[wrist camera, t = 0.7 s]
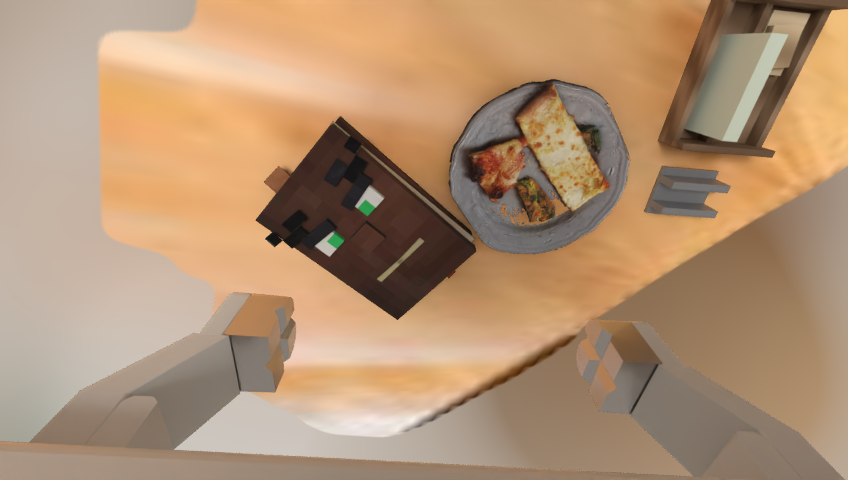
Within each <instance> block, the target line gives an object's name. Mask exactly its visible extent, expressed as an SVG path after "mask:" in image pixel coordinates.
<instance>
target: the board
mask: <svg viewBox="0 0 848 480" xmlns="http://www.w3.org/2000/svg"><path fill="white" fill-rule="evenodd" d="M787 37H788V34H779V33H751V34H722V37H721V39H720V42H719V44H718V47H717V49H716V51H715V54H714V56H713V59H712V61H711V64H710V66H709V69H708V71H707V74H706V76H705V78H704V81H703V83H702V86H701V88H700V91H699V93H698V96H697V98H696V101H695V103H694V105H693V108H692V110H691V113H690V115H689V118H688V120H687V123H686V125H685V128H684V129H687V130H690V131H693V132H696V133H699V134H703V135H706V136H709V137H712V138H715V139H718V140H721V141H731V142H737V141H738V139H739V137H740V134H741V132H742V130H743V128H744V126H745V124H746V122H747V120H748V118H749V116H750V114H751V112H752V110H753V107H754V105H755V103H756V101H757V99H758V97H759V95H760V93H761V91H762V89H763V87H764V85H765V82H766V80H767V78H768V76H769V74H770V72H771V70H772V68H773V66H774V64H775V62H776V60H777V58H778V55H779V53H780V51H781V49H782V47H783V45H784V43H785V41H786V39H787Z"/></svg>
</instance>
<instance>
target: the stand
mask: <svg viewBox="0 0 848 480" xmlns="http://www.w3.org/2000/svg"><path fill="white" fill-rule="evenodd" d="M717 174H718V171H714V170H703V169H691V168H679V167H667V166H662V168H661V170H660V173H659V175H658V178H657V180H656V183H655V185H654V188H653V190H652V193H651V195H650V198H649V200H648V203H647V205H646V208H645V210H644V211H645V212H646V213H659V214H668V215H680V216H693V217H706V218H715V217H716V215H717V213H718V212H717V211H716V210H714V209H712V208H710V207H709V206H707V205H705V204H704V202H705V200H706V197H707V195H708V193H709V192H719V193H728V191H729V189H730V187H731V186H729V185H727V184H724V183H722V182H720V181H718V180H716V176H717Z"/></svg>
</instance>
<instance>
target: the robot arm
mask: <svg viewBox="0 0 848 480" xmlns="http://www.w3.org/2000/svg"><path fill="white" fill-rule="evenodd" d="M293 312H294V302H293V299H292V298H291V297H285V296H274V295H264V294H251V293H239V292H234V293H231V294H230V295H229V296H228V297H227V298H226V300H225V301H224V302H223V303H222V305H221V306H220V307H219V309H218V310H217V311H216V312H215V314H214V315H213V316H212V318H211V319H210V320H209V322H208V323H207V324H206V325H205V327H204V328H203V329H202V331H201V332H200V333H199V334H198V333H193V334H191V335H189V336H187V337H185V338H183V339H181V340H179V341H177V342H175V343H173V344H171V345H169V346H167V347H165V348H163V349H161V350H159V351H157V352H155V353H153V354H151V355H149V356H147V357H145V358H143V359H141V360H139V361H137V362H135V363H133V364H131V365H129V366H127V367H126V368H123V369H122V370H120V371H118V372H116V373H114V374H112V375H110V376H108V377H106V378H104V379H102V380H100V381H98V382H96V383H94V384H92V385H90V386H88V387H86V388H84V389H82V390H80V391H79V392H78V393H77V394H76V395H75V396H74V397H73V398H72V399H71V400H70V401H69V402H68V403H67V404H66V405H65V406H64V408H62V410H60V411H59V412H58V413H57V415H55V417H53V419H52V420H51V421H50V422H49V423H48V424H47V425H46V426H45V427H44V428H43V429H42V430H41V431H40V432H39V433H38V434H37V435H36V436H35V437H34V438H33V439H32V440H31V441H30V442H29V443H27V442H6V441H0V480H844V478H843V477H842V476H841V475H840V474H839V473H838V472H836V470H835V469H834V468H833V467H832V466H831V465H830V464H829V463H828V462H827V461H826V460H825V459H824V458H823V457H822V456H821V455H820V454H819V453H818V452H817V451H816V450H815V449H814V448H813V447H812V446H811V444H809V442H808V441H807V440H806V439H805V438H804V437H803V436H802V435H801V434H800V433H799V432H797V431H795V430H794V429H792V428H790V427H788V426H787V425H785V424H784V423H782V422H780V421H779V420H777V419H775V418H774V417H772V416H771V415H769V414H767V413H766V412H764V411H762V410H761V409H759V408H757V407H756V406H754V405H752V404H751V403H749V402H748V401H746V400H744V399H742V398H741V397H739V396H738V395H736V394H734V393H733V392H731V391H729V390H728V389H726V388H724V387H723V386H721V385H719V384H718V383H716V382H714V381H713V380H711V379H710V378H708V377H706V376H705V375H703V374H701V373H700V372H698V371H696V370H695V369H693V368H692V367H689V366H684V365H683V364H682V363H681V361H680V360H679V359H678V358H677V357H676V355H675V354H674V353H673V352H672V351H671V350H670V348H669V347H668V346H667V344H666V343H665V342H664V341H663V340H662V338H661V337H660V336H659V335H658V334H657V332H656V331H655V330H654V329H653V328H652V326H651V325H649V324H648V323H646V322H634V321H627V322H623V321H609V320H594V319H591V320H590V321H589V322H588V323H587V326H586V328H585V332H586V334H587V338H585V339H584V340H583V341H581V342H580V343H579V346H578V349H577V366H578V369H579V372H580V374H581V376H582V377H583V378H584V379H585V380H587V381H588V382H589V383H590V387H589V393H590V395H591V397H592V399H593V401H594V403H595V405H596V407H597V409H598V411H599V412H607V413H619V414H631V417H632V418H633V419H634V420H635V421H636V422H637V423H638V424H639V425H640V426H641V427H642V428H643V429H645V430H646V431H647V432H648V433H649V434H650V435H651V436H652V437H653V438H654V439H655V440H656V441H657V442H658V443H659V444H660V445H662V447H663V448H664V449H666V450H667V451H668V452H669V453H670V454H671V455H672V456H673V457H674V458H675V459H676V460H677V461H678V462H679V463H680V464H681V465H682V466H684V467H685V468H686V469H687V470H688V471H689V472H690V473H691V474H692V475H693V477H692V476H674V475H655V474H635V473H616V472H594V471H576V470H555V469H536V468H517V467H496V466H478V465H459V464H439V463H419V462H400V461H381V460H359V459H341V458H322V457H301V456H282V455H263V454H243V453H224V452H203V451H183V450H174V449H175V448H176V447H177V446H178V445H179V444H181V443H182V442H183V441H184V440H185V439H187V438H188V437H189V436H190V435H191V434H193V433H194V432H195V431H196V430H197V429H199V427H201V426H202V425H203V424H204V423H206V422H207V421H208V420H209V419H210V418H211V417H213V416H214V415H215V414H216V413H217V412H218V411H220V410H221V409H222V408H223V407H224V406H226V405H227V404H228V403H229V402H230V401H231V400H233V399H234V398H235V397H236V396H237V395H239V394H240V391H247V392H276V389H277V387H278V385H279V382H280V380H281V378H282V375H283V373H284V364H283V362H285V361H286V360H287V359H289V358H290V356H291V353H292V351H293V348H294V343H295V339H296V323H295V322H294V321H293V319H292V318H291V316H292V314H293Z"/></svg>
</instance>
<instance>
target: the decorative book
mask: <svg viewBox="0 0 848 480" xmlns="http://www.w3.org/2000/svg"><path fill="white" fill-rule="evenodd" d="M264 183H265V184H267V185H268V186H269V187H270V188H271V189H272V190H273V191H275V192H276V195H275V196H274V197H273V199H272V200H271V201H270V202H269V204H268V205H267V206H266V207H265V209H264V210H263V211H262V212H261V214H260V215H259V216H258V217H257V219H256V221H257V222H259V223H260V224H261V225H263V226H264V227H266V228H267V229H269V230H270V231H271V232H272V233H271V234H270V235H269V236H268V237H266V238H265V239H266V240H267V241H268V242H269V243H270V244H271V245H273V246H274V247H276V246H277V245H278V244H279V243H280V242H281V241H284V242H285V243H286V244H287V245H289V246H290V247H291V248H296V249H297V250H299V251H300V252H301V253H303V254H304V255H306V256H307V257H309V258H310V259H311V260H313V261H314V262H316V263H317V264H319V265H320V266H321V267H323V268H324V269H326V270H327V271H329V272H330V273H331V274H333V275H334V276H336V277H337V278H338V279H340V280H341V281H343V282H344V283H346V284H347V285H348V286H350V287H351V288H353V289H354V290H356V291H357V292H358V293H360V294H361V295H363V296H364V297H366V298H367V299H368V300H370V301H371V302H373V303H374V304H376V305H377V306H378V307H380V308H381V309H383V310H384V311H386V312H387V313H388V314H390V315H391V316H393V317H394V318H396V319H397V320H398V319H399V318H400V317H402V316H403V315H404V314H405V313H406V312H407V311H408V310H410V309H411V308H412V307H413V306H414V305H415V304H416V303H418V302H419V301H420V300H421V299H422V298H423V297H424V296H426V295H427V294H428V293H429V292H430V291H431V290H432V289H434V288H435V287H436V286H437V285H438V284H439V283H441V282H442V281H443V280H444V279H445V278H446V277H448V278H450V277H451V276H452V275H453V274H454V273H455V272H456V271H455V269H457V268H458V267H459V266H460V265H461V264H462V263H463V262H465V261H466V260H467V259H468V258H469V257H470V256H471V255H473V254H474V253H475V252H476V248H475V245H474V244H472V243H471V242H472V241H473V240H474V239H475V238H474V237H472V236H471V235H472V233H471V231H470V230H469V229H468V228H467V227H466V226H465V225H463V224H462V223H461V222H460V221H459V220H458V219H457V218H456V217H454V216H453V215H452V214H451V213H450V212H449V211H448V210H446V209H445V208H444V207H443V206H442V205H441V204H440V203H438V202H437V201H436V200H435V199H434V198H433V197H432V196H431V195H429V194H428V193H427V192H426V191H425V190H424V189H423V188H421V187H420V186H419V185H418V184H417V183H416V182H415V181H413V180H412V179H411V178H410V177H409V176H408V175H407V174H406V173H404V172H403V171H402V170H401V169H400V168H399V167H398V166H396V165H395V164H394V163H393V162H392V161H391V160H390V159H388V158H387V157H386V156H385V155H384V154H383V153H382V152H381V151H379V150H378V149H377V148H376V147H375V146H374V145H373V144H371V143H370V142H369V141H368V140H367V139H366V138H365V137H363V136H362V135H361V134H360V133H359V132H358V131H357V130H356V129H354V128H353V127H352V126H351V125H350V124H349V123H348V122H346V121H345V120H344V119H343V118H342V117H341V116H340V117H339V118H338V119H337V121H336V122H332V123H331V125H330V126H329V127H328V129H327V130H326V131H325V133H324V134H323V135H322V136H321V138H320V139H319V140H318V142H317V143H316V144H315V145H314V147H313V148H312V149H311V150H310V152H309V153H308V154H307V155H306V157H305V158H304V159H303V161H302V162H301V163H300V164H299V166H298V167H297V168H296V169H295V171H294V172H293V173H292V174H291V176H289V175H288V174H287V173H286V172H285V171H284V170H283V169H282V168H280V167H279V166H278V167H277V168H276V169H275V171H274V172H273V173H272V174H271V175H270V176H269V177H268V178H267V179H266V180H265V181H264ZM278 236H279V237H280V238H279V237H278ZM282 239H283V240H282Z"/></svg>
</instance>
